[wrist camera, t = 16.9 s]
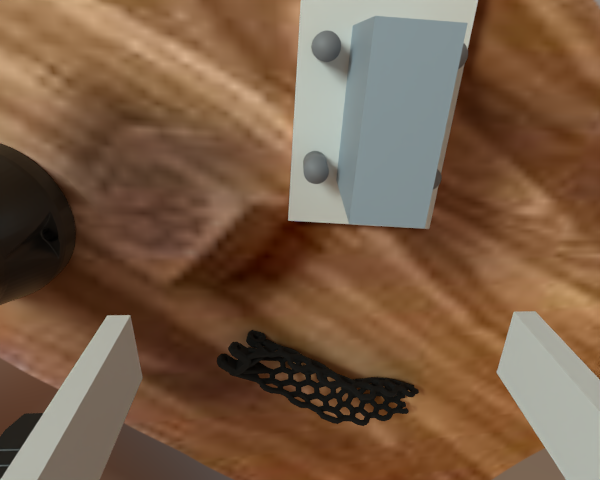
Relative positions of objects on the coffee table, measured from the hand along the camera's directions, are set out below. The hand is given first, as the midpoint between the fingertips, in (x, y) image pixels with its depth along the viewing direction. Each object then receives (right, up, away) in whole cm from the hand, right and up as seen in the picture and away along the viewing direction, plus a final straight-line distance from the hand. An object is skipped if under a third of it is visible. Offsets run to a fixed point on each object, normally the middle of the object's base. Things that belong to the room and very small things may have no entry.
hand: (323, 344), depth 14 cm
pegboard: (+5, +15, +21) cm, 26 cm away
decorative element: (+1, -10, +33) cm, 34 cm away
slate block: (+5, +14, +19) cm, 25 cm away
